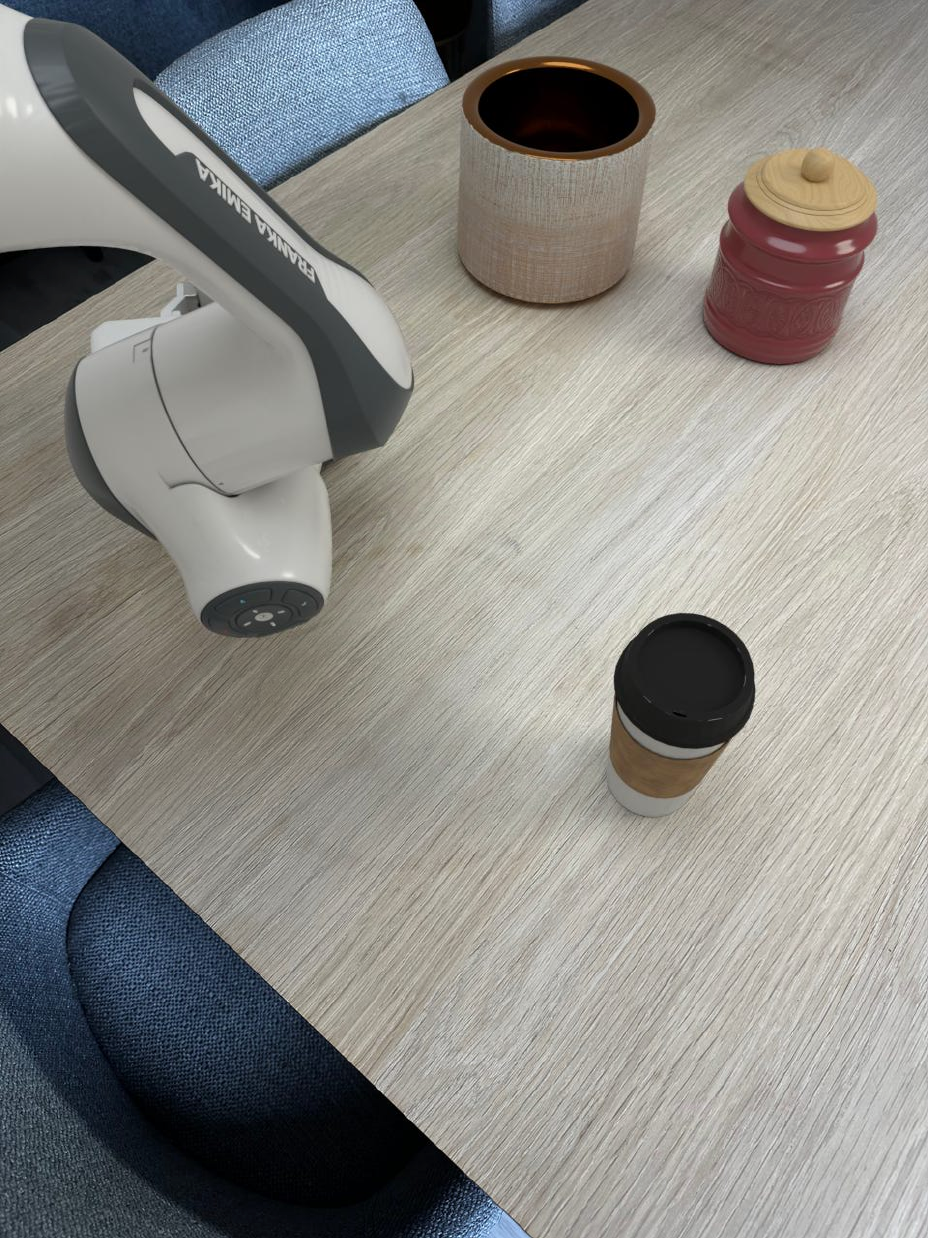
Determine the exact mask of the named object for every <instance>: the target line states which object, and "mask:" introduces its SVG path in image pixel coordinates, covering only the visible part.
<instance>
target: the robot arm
mask: <svg viewBox="0 0 928 1238" xmlns="http://www.w3.org/2000/svg"><path fill="white" fill-rule="evenodd" d="M80 246H82V247H107V248H116V249H122V250H127V251H128V250H129V251H132V252H133V251H134V252H137V253H140V254H144V255H147V256H150V257H153V258H155V259H156V260H159V261H161V262H163V263H164V264H165V265H167V266H169V267H170V268H172V269H173V270H174V271H175V272H176V273H178V274H179V275H181V276H182V277H183V278H184V279H185V280H186V281H189V282H181V283H180V282H178V283H176V287H175V289H176V296H174V297H173V298H172V299H171V300H170V301H169V302H168V303H167V304H165V306H164V308H162V309H161V310H160V311H159V315H160V316H154V317H140V318H131V319H130V318H129V319H118V320H107V321H103V322H102V323H101V324H99V325H98V326H97V327H95V328H94V329H93V330H92V331H91V332H90V338H89V339H90V343H89V344H90V345H89V347H90V354H89V355H87V356H82V357H81V358H80V359H79V360H78V361H77V362H76V365H75V366H74V368H73V370H72V373H71V374H70V377H69V380H68V384H67V386H66V391H65V397H64V408H63V409H64V410H63V411H64V412H63V419H64V420H63V424H64V427H63V428H64V429H63V430H64V440H65V446H66V451H67V455H68V458H69V459H68V460H69V461H70V465H71V467H72V470H73V472H74V475H75V477H76V479H77V480H78V482H79V483H80V485H81V486H82V488H83V489H84V490H85V491H86V493H87V494H88V495H89V496H90V497H91V498H92V500H93V501H94V502H95V503H97V505H99V506H100V508H102V509H103V510H104V511H106V512H107V513H108V514H110V515H111V516H113V517H114V518H116V519H117V520H119V521H121V522H123V523H124V524H126V525H128V526H130V527H131V528H133V529H134V530H135V531H138V532H139V533H141V534H143V535H144V536H146V537H148V538H150V539H151V540H153V541H155V542H157V543H160V545H161V547H162V548H163V549H164V551H165V552H166V553H167V555H168V557H169V558H170V559H171V561H172V563H173V564H174V567H175V568H176V570H177V572H178V574H179V576H180V579H181V583H182V585H183V587H184V591H185V593H186V597H187V601H188V604H189V607H190V609H191V612H192V614H193V616H194V618H195V619H196V620H197V622H198V623H199V624H200V625H201V626H202V627H203V628H204V629H206V630H207V631H209V632H211V633H213V634H215V635H219V636H224V637H229V638H233V639H261V638H265V637H266V638H267V637H270V636H273V635H276V634H279V633H282V632H286V631H288V630H292V629H295V628H297V627H299V626H301V625H304V624H306V623H308V622H309V621H311V620H312V619H313V618H315V617H317V616H318V615H319V614H320V612H322V611H323V609H324V608H325V605H326V604H327V601H328V599H329V595H330V590H331V583H332V573H333V526H332V514H331V506H330V504H331V503H330V497H329V492H328V489H327V486H326V484H325V482H324V479H323V477H322V476H321V474H320V472H321V469H322V468H321V466H322V462H324V461H327V460H329V459H332V458H333V459H334V460H335V461H338V460H341V459H344V458H347V457H351V456H354V455H357V454H360V453H361V454H362V453H364V452H369V451H372V450H375V449H379V448H382V447H384V446H385V445H386V444H387V442H388V441H389V439H390V438H391V437H392V435H393V433H394V432H395V430H396V428H397V426H398V424H399V422H400V421H401V419H402V417H403V415H404V414H405V411H406V409H407V407H408V405H409V403H410V401H411V397H412V396H413V392H414V390H415V389H414V388H415V375H414V370H413V365H412V361H411V355H410V352H409V347H408V344H407V341H406V338H405V335H404V333H403V330H402V328H401V325H400V323H399V321H398V320H397V317H396V315H395V314H394V312H393V310H392V309H391V307H390V306H389V304H388V303H387V301H386V300H385V299H384V297H383V296H382V295H381V294H380V293H379V292H378V290H377V289H376V287H375V286H374V284H373V283H372V282H371V281H370V280H369V279H368V278H367V276H365V275H364V274H363V273H362V272H361V271H360V270H358V269H357V268H355V266H353V265H351V264H350V263H349V262H347V261H345V260H344V259H342V258H340V257H339V256H338V255H336V254H334V253H333V252H332V251H330V250H328V249H327V248H326V247H324V246H323V245H322V244H320V243H319V242H318V241H317V240H316V239H315V238H314V237H313V236H311V235H310V234H309V233H308V232H307V231H306V230H305V229H304V228H303V226H301V225H300V224H299V223H298V222H297V221H296V220H295V219H294V218H293V217H292V216H291V215H290V214H289V213H288V212H287V210H285V209H284V208H283V207H282V206H281V205H280V204H279V202H277V201H276V200H275V199H274V198H273V197H272V196H271V195H270V194H269V193H268V192H267V191H266V190H265V189H264V188H263V187H262V186H261V185H259V184H258V183H257V182H256V180H255V179H254V178H253V177H252V176H251V175H249V173H247V172H246V170H245V169H244V168H243V167H242V166H241V165H239V163H237V162H236V161H235V160H234V159H233V158H232V157H231V156H230V155H229V154H228V153H227V152H226V151H225V150H224V148H222V147H221V145H219V143H218V142H217V141H215V140H214V139H213V138H212V137H211V136H210V135H209V134H208V133H207V132H206V131H205V129H203V128H202V127H201V126H200V125H199V124H198V123H196V121H195V120H194V119H193V118H192V117H191V116H190V115H188V113H186V111H184V110H183V109H182V108H181V107H180V106H179V105H178V104H177V103H176V102H175V101H174V100H173V99H171V98H170V97H169V96H168V95H167V94H166V93H165V92H164V91H163V90H162V89H161V88H160V87H159V86H158V85H157V84H156V83H154V82H153V81H152V80H151V79H150V78H149V77H148V76H147V75H145V74H144V73H143V72H142V71H141V70H140V69H139V68H137V67H136V66H135V65H134V64H133V63H132V62H131V61H129V60H128V59H127V58H126V57H125V56H124V55H122V53H120V52H119V51H117V49H115V48H114V47H112V46H111V45H110V44H109V43H108V42H106V41H105V40H103V39H102V37H100V36H98V35H97V34H95V33H94V32H92V31H91V30H90V29H88V28H86V27H84V26H82V25H80V24H77V23H73V22H68V21H67V22H66V21H60V20H56V19H49V18H43V17H33V16H30V15H28V14H25V13H22V12H20V11H18V10H15V9H13V8H11V7H9V6H7V5H4V4H2V3H0V254H1V253H7V252H15V251H16V252H17V251H25V250H34V249H45V248H58V247H59V248H60V247H80ZM196 287H197V288H198V289H200V290H201V291H202V292H203V293H205V294H206V295H207V296H209V297H210V298H211V299H212V300H214V301H215V302H213V303H210V304H208V305H206V306H203V307H200V304H199V298H198V294H197V290H196Z"/></svg>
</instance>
